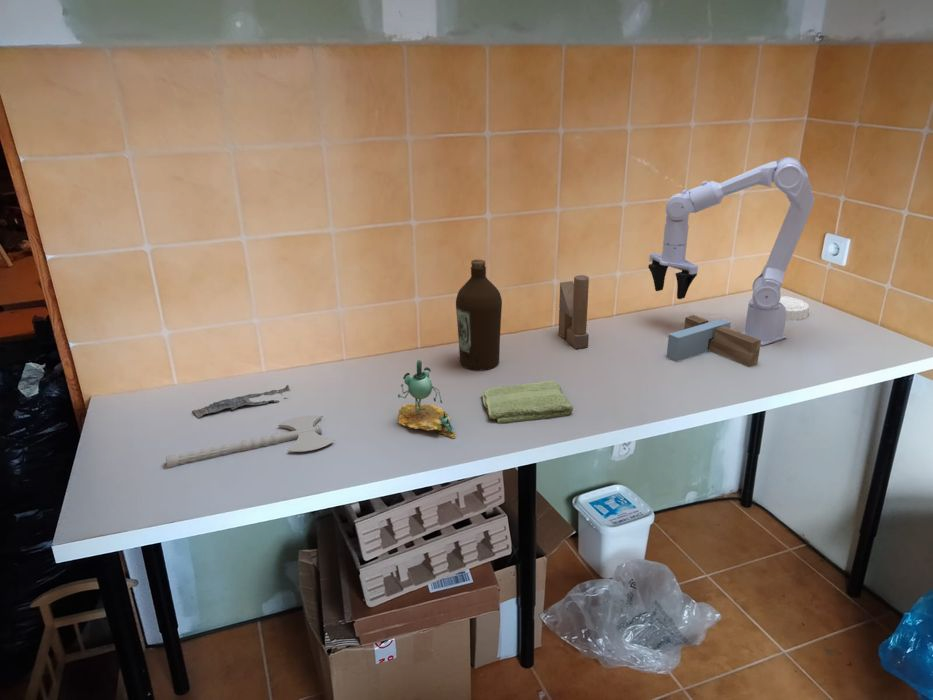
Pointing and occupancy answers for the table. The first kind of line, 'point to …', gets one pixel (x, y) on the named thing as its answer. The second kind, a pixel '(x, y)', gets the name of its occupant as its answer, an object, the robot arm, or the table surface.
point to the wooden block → (574, 311)
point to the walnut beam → (730, 343)
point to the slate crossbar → (692, 340)
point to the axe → (265, 441)
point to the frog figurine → (423, 414)
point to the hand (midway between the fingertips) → (669, 294)
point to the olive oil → (479, 320)
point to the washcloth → (526, 402)
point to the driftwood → (237, 402)
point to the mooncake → (794, 308)
